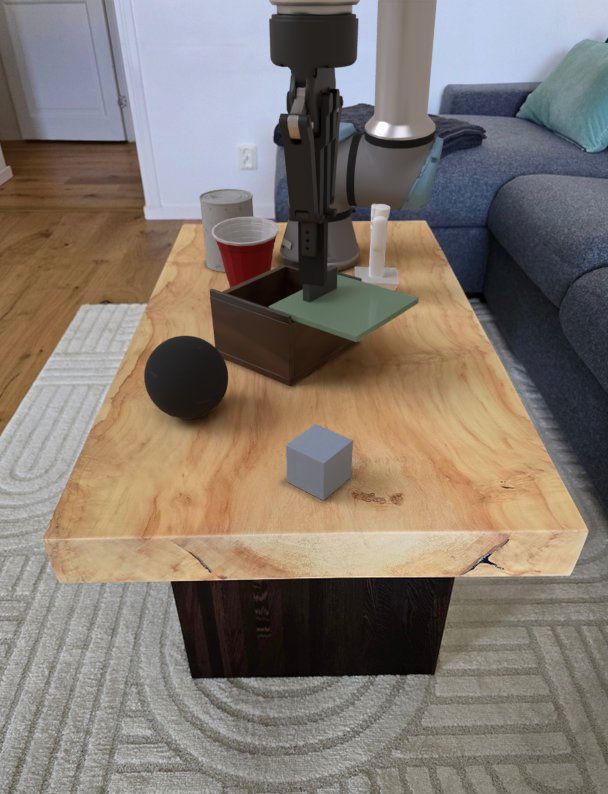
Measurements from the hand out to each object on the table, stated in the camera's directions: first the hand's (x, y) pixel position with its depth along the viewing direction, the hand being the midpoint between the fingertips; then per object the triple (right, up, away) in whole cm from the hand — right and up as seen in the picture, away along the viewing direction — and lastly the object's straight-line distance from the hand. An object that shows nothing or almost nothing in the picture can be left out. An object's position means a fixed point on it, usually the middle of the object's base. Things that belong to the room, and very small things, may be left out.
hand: (312, 282), depth 67 cm
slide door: (+4, +1, +16) cm, 16 cm away
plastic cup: (-10, +8, +41) cm, 43 cm away
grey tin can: (-15, +18, +54) cm, 59 cm away
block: (+1, -21, +2) cm, 21 cm away
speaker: (-15, -13, +13) cm, 24 cm away
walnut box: (-3, -3, +26) cm, 27 cm away
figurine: (+11, +9, +42) cm, 44 cm away
